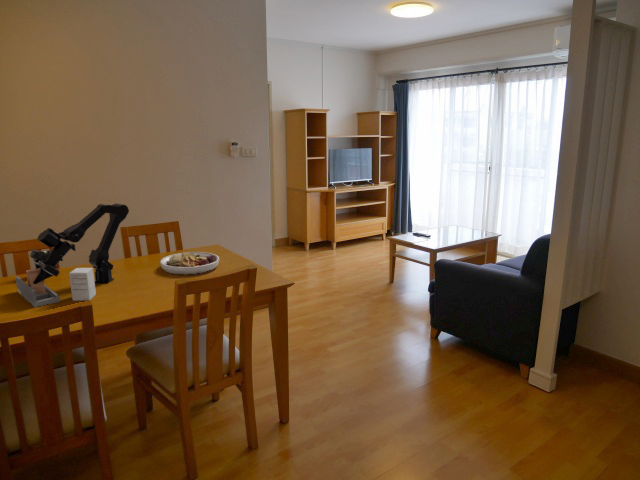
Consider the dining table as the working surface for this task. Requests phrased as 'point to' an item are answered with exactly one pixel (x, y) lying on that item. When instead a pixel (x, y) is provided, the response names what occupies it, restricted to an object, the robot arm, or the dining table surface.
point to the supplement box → (82, 284)
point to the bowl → (189, 262)
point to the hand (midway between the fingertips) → (32, 282)
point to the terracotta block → (31, 277)
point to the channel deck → (36, 299)
